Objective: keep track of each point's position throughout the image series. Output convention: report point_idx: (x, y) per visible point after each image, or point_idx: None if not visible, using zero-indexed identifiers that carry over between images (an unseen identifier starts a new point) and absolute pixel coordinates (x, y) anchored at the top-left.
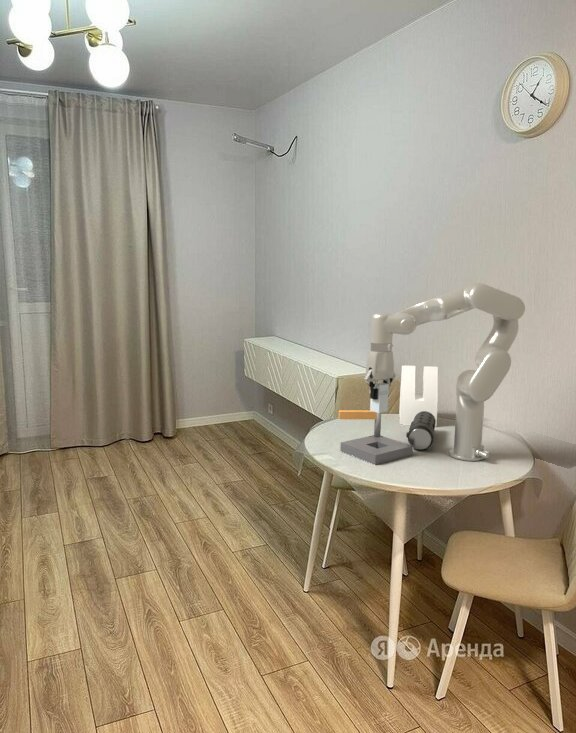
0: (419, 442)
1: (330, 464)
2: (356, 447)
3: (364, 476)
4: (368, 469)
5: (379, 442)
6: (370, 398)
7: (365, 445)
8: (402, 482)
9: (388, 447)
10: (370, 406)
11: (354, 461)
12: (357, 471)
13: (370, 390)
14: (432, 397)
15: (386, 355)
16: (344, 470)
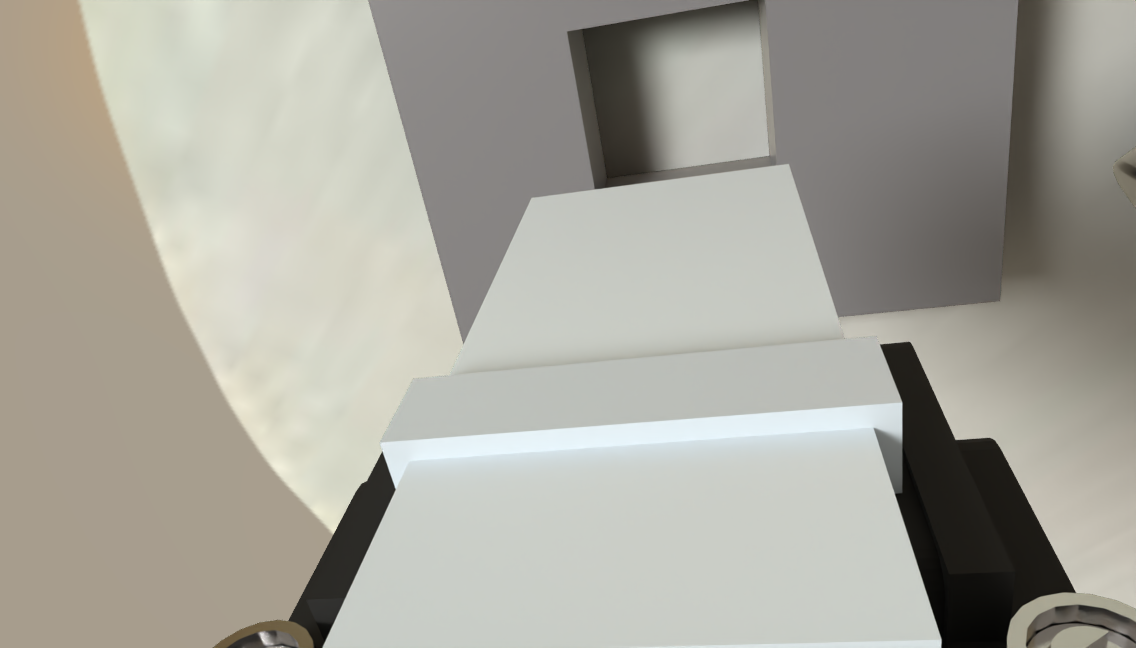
0: None
1: (134, 139)
2: (410, 86)
3: (295, 445)
4: (385, 361)
5: (768, 36)
6: (475, 319)
7: (541, 67)
8: None
9: None
10: (517, 240)
11: (364, 165)
12: (288, 357)
13: (348, 527)
14: None
15: None
16: (202, 301)
